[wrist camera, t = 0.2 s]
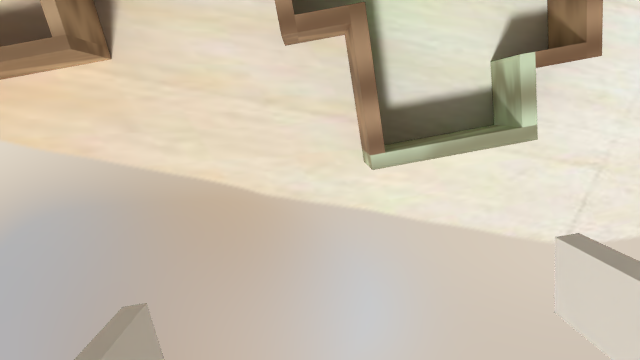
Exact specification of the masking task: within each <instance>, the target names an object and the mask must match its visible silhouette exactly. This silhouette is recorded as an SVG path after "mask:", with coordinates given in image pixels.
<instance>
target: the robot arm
mask: <svg viewBox="0 0 640 360" xmlns="http://www.w3.org/2000/svg"><path fill="white" fill-rule="evenodd" d="M554 302H555V303H554V304H555V305H554V307H555V308H554V312H555V313H556V314H557V315H558V316H559V317H560V318H562V319H563V320H564V321H565V322H566V323H568V324H569V325H570V326H571V327H572V328H574V329H575V330H576V331H577V332H578V333H580V334H581V335H582V336H583V337H584V338H586V339H587V340H588V341H589V342H591V343H592V344H593V345H594V346H595V347H597V348H598V349H599V350H600V351H601V352H603V353H604V354H605V355H606V356H607V357H609V358H610V359H611V360H640V261H638V260H635V259H633V258H631V257H629V256H627V255H625V254H622V253H620V252H618V251H616V250H614V249H612V248H610V247H607V246H605V245H603V244H601V243H599V242H597V241H595V240H592V239H590V238H588V237H586V236H584V235H582V234H579V233H577V234H571V235H565V236H559V237H555V297H554ZM74 360H164V357H163V354H162V351H161V348H160V344H159V341H158V338H157V335H156V332H155V328H154V325H153V322H152V319H151V316H150V312H149V309H148V306H147V303H144V304H138V305H132V306H125V307H122V308H121V309H120V310H119V311H118V313H117V314H116V315H115V316H114V317H113V318H112V319H111V320H110V322H108V323H107V325H106V326H105V327H104V328H103V329H102V330H101V331H100V332H99V333H98V334H97V335H96V336H95V338H94V339H93V340H92V341H91V342H90V343H89V344H88V345H87V346H86V347H85V348H84V350H83V351H82V352H81V353H80V354H79V355H78V356H77V357H76V358H75V359H74Z"/></svg>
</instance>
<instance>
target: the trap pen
mask: <svg viewBox="0 0 640 360" xmlns="http://www.w3.org/2000/svg"><path fill="white" fill-rule="evenodd" d="M547 1H548V49H547V50H542V51H536V52H531V53H525V54H520V55H516V56H512V57H508V58H504V59H500V60H496V61H492V62H491V77H492V94H493V112H494V125H491V126H485V127H480V128H475V129H469V130H464V131H458V132H453V133H447V134H442V135H437V136H431V137H426V138H420V139H415V140H410V141H404V142H399V143H393V144H388V145H384V140H383V132H382V125H381V118H380V110H379V103H378V95H377V88H376V81H375V73H374V66H373V58H372V51H371V44H370V36H369V29H368V21H367V14H366V7H365V2H361V3H356V4H351V5H345V6H340V7H334V8H329V9H323V10H318V11H313V12H307V13H302V14H296V15H294V10H293V4H292V0H275V4H276V9H277V15H278V20H279V25H280V30H281V35H282V38H283V41H284V44H285V46H286V45H291V44H296V43H302V42H307V41H313V40H318V39H324V38H329V37H334V36H340V35H345V39H346V45H347V52H348V59H349V65H350V72H351V78H352V85H353V92H354V98H355V105H356V112H357V118H358V125H359V131H360V138H361V145H362V151H363V158H364V162H365V163H366V164H367V165H368V166H369V167H370V168H371V169H372V170H375V169H380V168H386V167H391V166H397V165H402V164H407V163H413V162H418V161H424V160H429V159H435V158H440V157H445V156H451V155H456V154H462V153H467V152H473V151H478V150H483V149H489V148H494V147H500V146H505V145H510V144H516V143H521V142H527V141H532V140H538V136H537V100H536V68H538V67H543V66H549V65H554V64H560V63H565V62H571V61H576V60H581V59H587V58H592V57H598V56H602V18H603V0H547Z"/></svg>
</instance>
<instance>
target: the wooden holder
mask: <svg viewBox="0 0 640 360" xmlns="http://www.w3.org/2000/svg"><path fill="white" fill-rule="evenodd" d="M40 3H41V6H42V8H43V11H44V14H45V17H46V20H47V23H48V26H49V29H50V32H51V35H52V37H50V38H44V39H39V40H34V41H28V42H23V43H17V44H12V45H7V46H1V47H0V80H1V79H6V78H12V77H17V76H23V75H28V74H33V73H39V72H44V71H50V70H55V69H61V68H66V67H71V66H77V65H82V64H88V63H93V62H98V61H104V60H109V59H111V57H110V53H109V50H108V47H107V44H106V40H105V37H104V34H103V31H102V27H101V24H100V21H99V18H98V14H97V11H96V8H95V5H94V1H93V0H40Z"/></svg>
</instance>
